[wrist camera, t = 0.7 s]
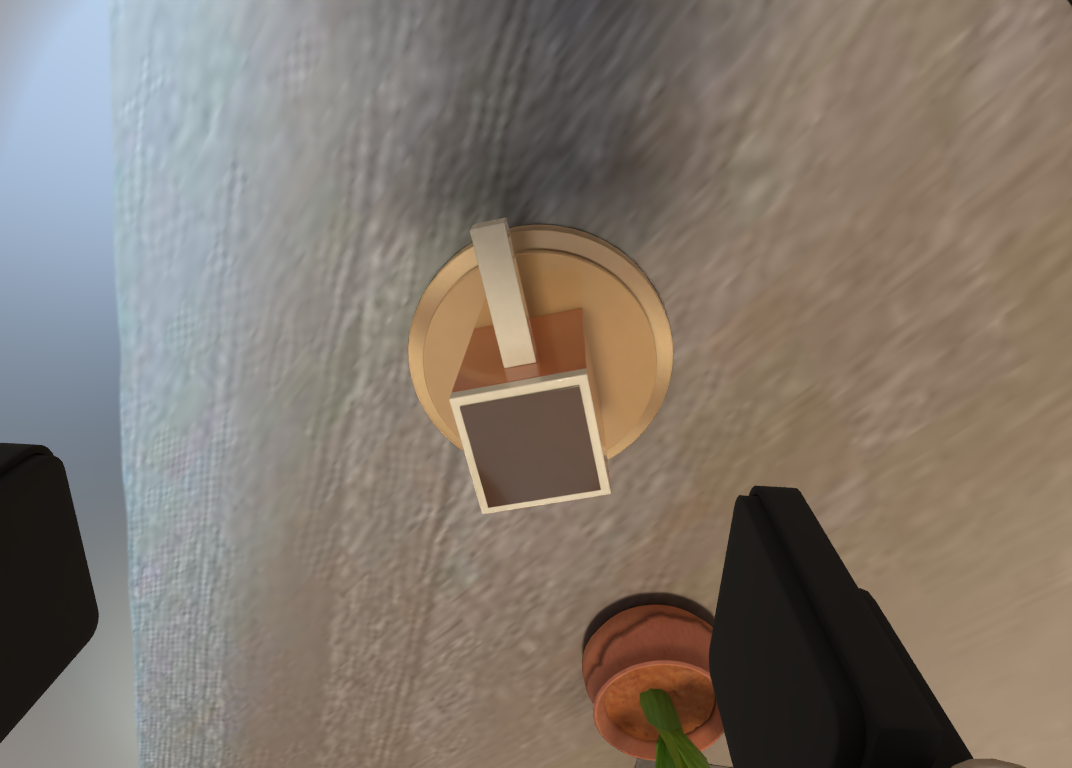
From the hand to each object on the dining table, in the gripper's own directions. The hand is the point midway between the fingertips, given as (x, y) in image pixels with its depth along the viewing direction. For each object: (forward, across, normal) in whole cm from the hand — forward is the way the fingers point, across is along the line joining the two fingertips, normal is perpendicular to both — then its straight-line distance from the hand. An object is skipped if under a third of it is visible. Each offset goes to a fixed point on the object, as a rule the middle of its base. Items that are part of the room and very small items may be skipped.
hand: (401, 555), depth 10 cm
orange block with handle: (+29, -1, +7) cm, 30 cm away
